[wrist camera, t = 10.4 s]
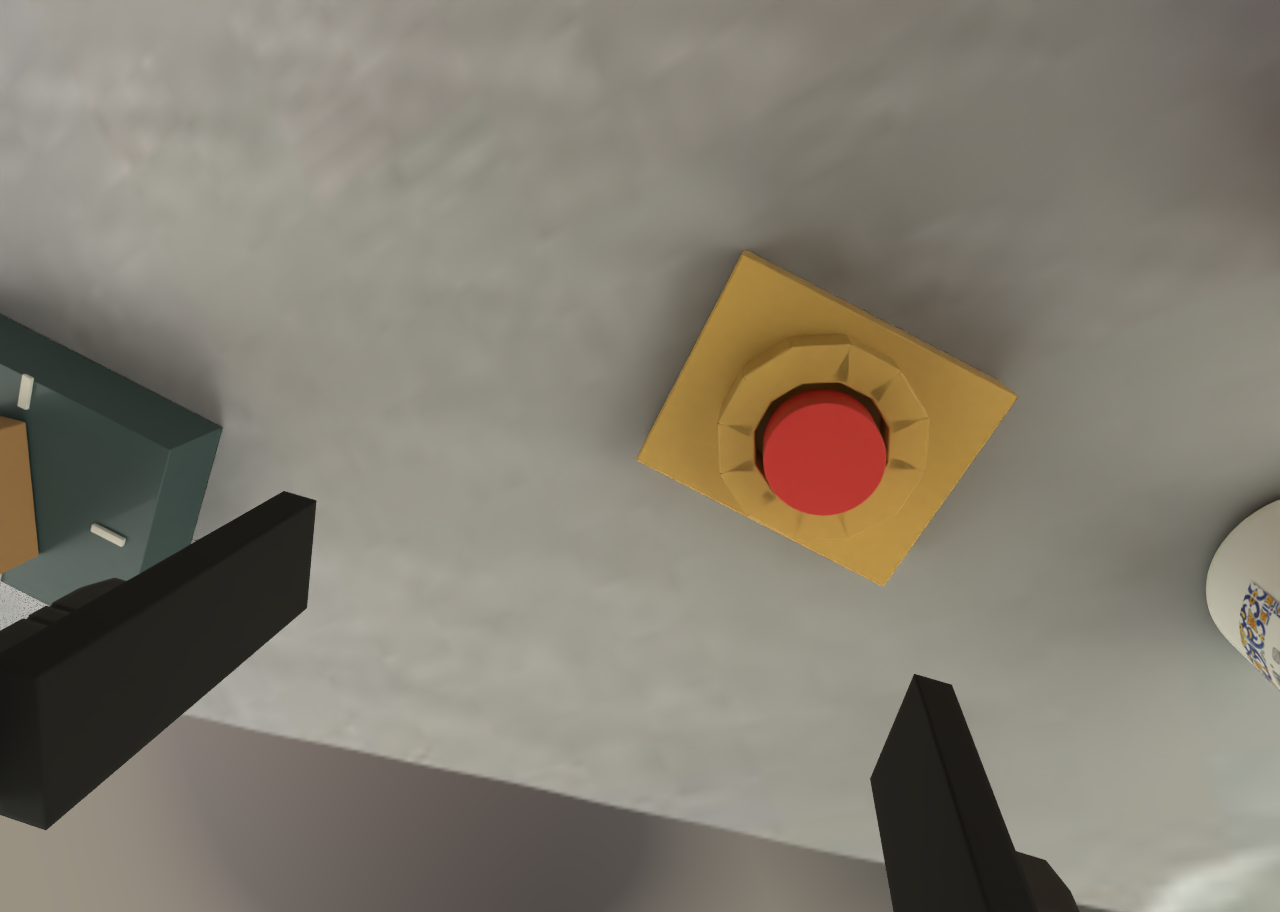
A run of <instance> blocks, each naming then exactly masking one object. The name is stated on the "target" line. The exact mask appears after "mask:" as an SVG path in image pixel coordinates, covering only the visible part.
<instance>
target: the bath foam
mask: <svg viewBox="0 0 1280 912" xmlns="http://www.w3.org/2000/svg"><path fill="white" fill-rule="evenodd" d="M1206 598H1207V604H1208V608H1209V611H1210V614H1211V616H1212V619H1213V621H1214V622H1215V624H1216V626H1217V627H1218V629H1219V630H1220V632H1221V633H1222V634H1223V635H1224V637H1225V638H1226V639H1227V640H1228V641H1229V642H1230V643H1231V644H1232V645H1233V646H1234V647H1235V648H1236V649H1237V650H1238V651H1239V652H1240V653H1241V654H1242V655H1243V656H1244V657H1245V658H1246V659H1247V660H1248V661H1250V662H1251V663H1252V664H1253V665H1254V666H1255V667H1256V669H1257V670H1258V671H1259V672H1260V673H1261V674H1262V675H1263V676H1264V677H1265V678H1266V679H1267V680H1268V681H1269V682H1271V683H1272V684H1273V685H1274V686H1275V687H1276V688H1277V689H1278V690H1279V691H1280V499H1279V500H1277V501H1275V502H1272V503H1270V504H1268V505H1266V506H1264V507H1263V508H1261V509H1259V510H1258V511H1256V512H1254V513H1253V514H1251V515H1250V516H1249V517H1247V518H1246V519H1245V520H1243V521H1242V522H1241V523H1240V524H1239V525H1238V526H1236V527H1235V528H1234V529H1233V530H1232V531H1231V533H1230V534H1229V535H1228V536H1227V537H1226V538H1225V540H1224V541H1223V542H1222V544H1221V545H1220V547H1219V548H1218V550H1217V552H1216V553H1215V555H1214V557H1213V560H1212V562H1211V565H1210V568H1209V571H1208V575H1207V581H1206Z"/></svg>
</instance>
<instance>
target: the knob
mask: <svg viewBox="0 0 1280 912" xmlns="http://www.w3.org/2000/svg"><path fill="white" fill-rule="evenodd" d="M38 555H39V551H38V541H37V531H36V521H35V511H34V500H33V490H32V480H31V470H30V460H29V450H28V440H27V430H26V423H25V422H23V421H19V420H15V419H11V418H7V417H3V416H0V574H2V573H4V572H6V571H8V570H10V569H12V568H14V567H17V566H19V565H21V564H23V563H25V562H27V561H29V560H31V559H33V558H35V557H37V556H38Z"/></svg>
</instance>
